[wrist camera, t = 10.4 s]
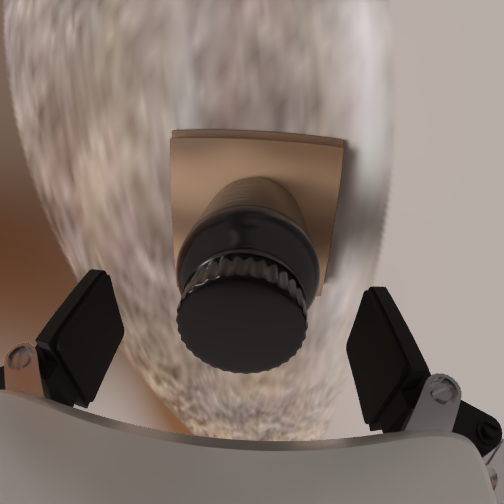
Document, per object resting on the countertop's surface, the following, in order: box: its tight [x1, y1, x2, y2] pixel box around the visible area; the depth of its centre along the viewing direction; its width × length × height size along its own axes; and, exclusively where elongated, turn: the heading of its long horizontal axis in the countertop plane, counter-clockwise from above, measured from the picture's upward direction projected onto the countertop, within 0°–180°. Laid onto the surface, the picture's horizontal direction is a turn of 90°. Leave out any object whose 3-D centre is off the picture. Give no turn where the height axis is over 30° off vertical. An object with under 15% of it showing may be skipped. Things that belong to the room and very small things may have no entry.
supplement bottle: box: [176, 177, 320, 374], centre depth 15 cm, size 7×7×12 cm
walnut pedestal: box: [170, 130, 344, 296], centre depth 22 cm, size 13×13×3 cm
